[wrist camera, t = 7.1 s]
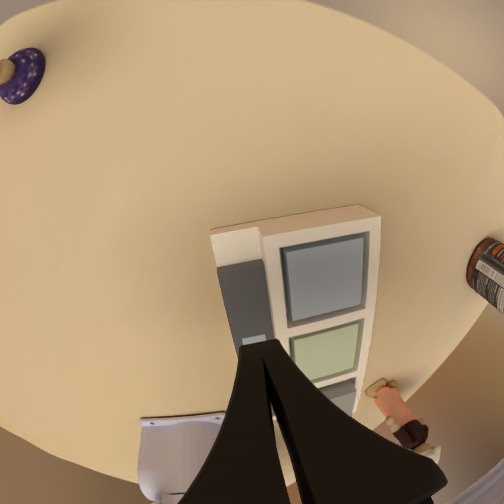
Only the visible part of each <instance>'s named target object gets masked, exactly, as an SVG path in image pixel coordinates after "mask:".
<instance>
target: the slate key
mask: <svg viewBox="0 0 504 504" xmlns="http://www.w3.org/2000/svg"><path fill="white" fill-rule="evenodd" d="M281 251H282V260H283V269H284V279H285V289H286V299H287V309H288V311H289V314H290V316H291V318H292V321H295V320H300V319H304V318H308V317H312V316H317V315H321V314H325V313H329V312H333V311H336V310H340V309H344V308H348V307H351V306H355V305H359V304H360V303H361V289H362V270H363V237H362V236H360V235H359V234H358V233H356V234H350V235H345V236H340V237H334V238H329V239H324V240H318V241H313V242H308V243H302V244H297V245H292V246H287V247H281Z"/></svg>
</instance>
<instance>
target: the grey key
mask: <svg viewBox="0 0 504 504" xmlns="http://www.w3.org/2000/svg"><path fill="white" fill-rule="evenodd" d="M319 390H320V391H321V392H322V393H323V394H324V395H325V396H326V397H327V398H328V399H330V400H331V401H332V402H333V403H334V404H335V405H336V406H338V407H339V408H340V409H341V410H343V411H344V412H345V413H347V414H348V415H349V416H351V415H352V411H353V407H354V402H355V398H356V393H357V390H356V388H355V386H354V384H353V382H352V381H351V379H350V380H347V381H344V382H341V383H338V384H335V385H331V386H328V387H324V388H321V389H319Z"/></svg>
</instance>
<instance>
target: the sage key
mask: <svg viewBox="0 0 504 504" xmlns="http://www.w3.org/2000/svg"><path fill="white" fill-rule="evenodd" d="M358 325H359V323H358V322H357V320H355V321H352V322H348V323H345V324H341V325H337V326H334V327H330V328H326V329H322V330H318V331H314V332H310V333H306V334H302V335H298V336H294V337H290V344H291V356H292V360H293V361H294V363H295V364H296V365H297V366H298V368H299V369H300V370H301V371H302V372H303V373H304V374H305V376H306V377H307V378H308V379H309V380H313V379H317V378H320V377H324V376H327V375H331V374H334V373H338V372H341V371H344V370H347V369H350V368H353V366H354V359H355V351H356V343H357V335H358Z"/></svg>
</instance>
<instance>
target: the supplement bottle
mask: <svg viewBox="0 0 504 504" xmlns="http://www.w3.org/2000/svg"><path fill="white" fill-rule="evenodd" d="M467 280H468V283H469V286H470V287H471V288H472V289H474V290H475V291H476V292H477V293H478V294H480V295H481V296H482V297H483V298H484V299H486V300H487V301H488V302H489V303H491V304H492V305H493V306H494V307H496V308H497V309H498V310H499V311H500V312H501V313H503V314H504V244H502V243H500V242H499V241H496V240H494V239H486V240H485V241H483V242H482V243H481V244H480V245H479V246H478V248H477V249H476V250H475V252H474V254H473V256H472V258H471V261H470V264H469V267H468V273H467Z"/></svg>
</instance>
